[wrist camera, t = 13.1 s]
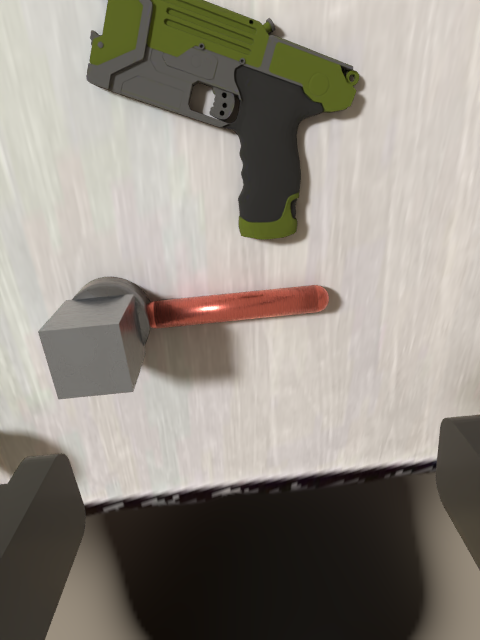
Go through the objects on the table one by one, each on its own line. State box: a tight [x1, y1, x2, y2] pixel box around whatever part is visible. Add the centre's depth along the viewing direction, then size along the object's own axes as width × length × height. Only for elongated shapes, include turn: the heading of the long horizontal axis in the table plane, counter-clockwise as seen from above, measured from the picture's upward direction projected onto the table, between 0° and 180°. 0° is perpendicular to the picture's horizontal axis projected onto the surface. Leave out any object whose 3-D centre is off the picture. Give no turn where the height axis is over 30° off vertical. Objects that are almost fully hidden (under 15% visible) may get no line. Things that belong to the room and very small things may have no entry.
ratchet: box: [72, 277, 329, 345], centre depth 36 cm, size 23×7×8 cm, turn 95°
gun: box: [86, 0, 359, 239], centre depth 33 cm, size 2×19×15 cm
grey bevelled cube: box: [38, 294, 145, 399], centre depth 33 cm, size 6×6×6 cm
